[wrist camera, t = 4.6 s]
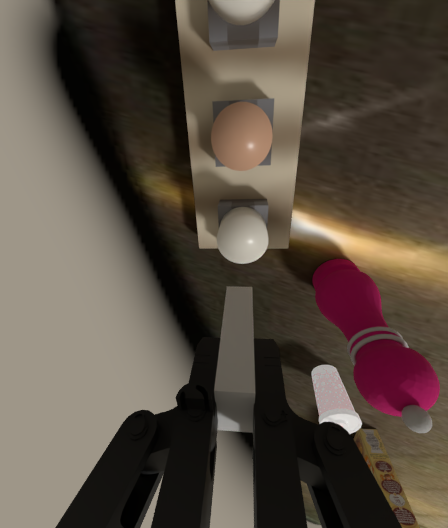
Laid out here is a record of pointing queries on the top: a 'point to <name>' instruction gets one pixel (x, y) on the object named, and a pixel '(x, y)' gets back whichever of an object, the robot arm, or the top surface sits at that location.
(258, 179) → the knob board
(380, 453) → the candy box
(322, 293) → the pepper mill
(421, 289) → the top surface
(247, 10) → the knob
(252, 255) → the knob
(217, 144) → the middle pink knob
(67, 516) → the robot arm
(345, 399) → the beverage cup
